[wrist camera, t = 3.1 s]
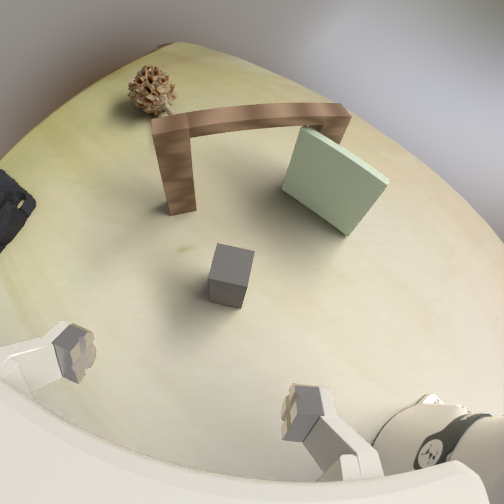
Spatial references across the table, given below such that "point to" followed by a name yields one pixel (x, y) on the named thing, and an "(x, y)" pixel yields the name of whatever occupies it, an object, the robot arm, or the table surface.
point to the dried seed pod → (152, 91)
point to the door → (332, 180)
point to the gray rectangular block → (229, 275)
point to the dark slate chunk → (12, 208)
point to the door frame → (227, 120)
